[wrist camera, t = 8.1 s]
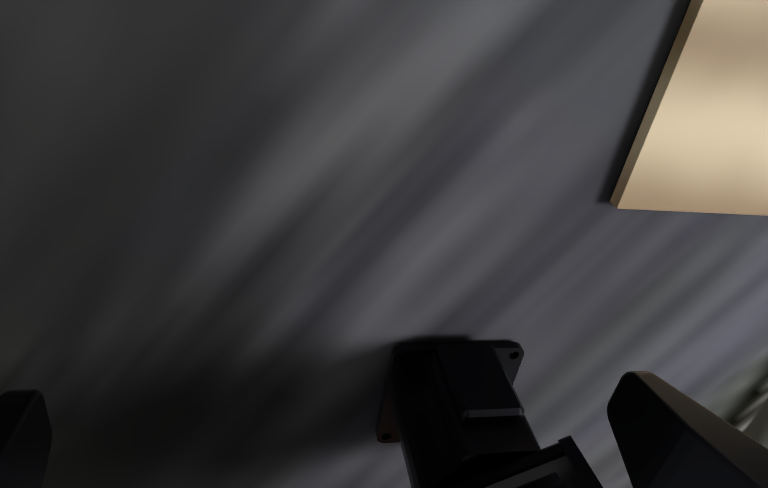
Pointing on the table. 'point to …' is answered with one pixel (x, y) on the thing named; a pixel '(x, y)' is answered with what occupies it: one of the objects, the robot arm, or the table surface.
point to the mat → (706, 118)
